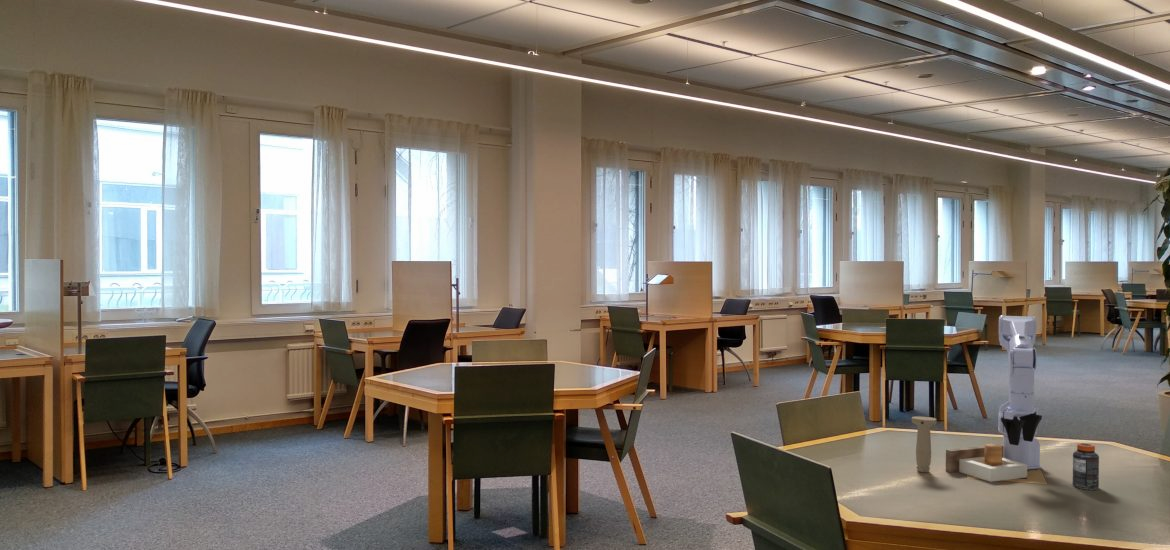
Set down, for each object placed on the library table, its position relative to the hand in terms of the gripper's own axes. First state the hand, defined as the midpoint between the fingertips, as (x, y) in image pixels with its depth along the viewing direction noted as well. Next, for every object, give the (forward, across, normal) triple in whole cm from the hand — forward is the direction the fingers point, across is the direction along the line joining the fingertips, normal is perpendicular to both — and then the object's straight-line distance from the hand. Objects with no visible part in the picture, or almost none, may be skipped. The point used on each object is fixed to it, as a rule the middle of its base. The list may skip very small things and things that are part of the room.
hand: (1021, 442), depth 231 cm
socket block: (+10, 0, -8) cm, 13 cm away
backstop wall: (+10, -2, -14) cm, 17 cm away
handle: (+10, +13, -21) cm, 27 cm away
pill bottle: (+10, -8, +13) cm, 18 cm away
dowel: (+10, 0, -8) cm, 13 cm away
